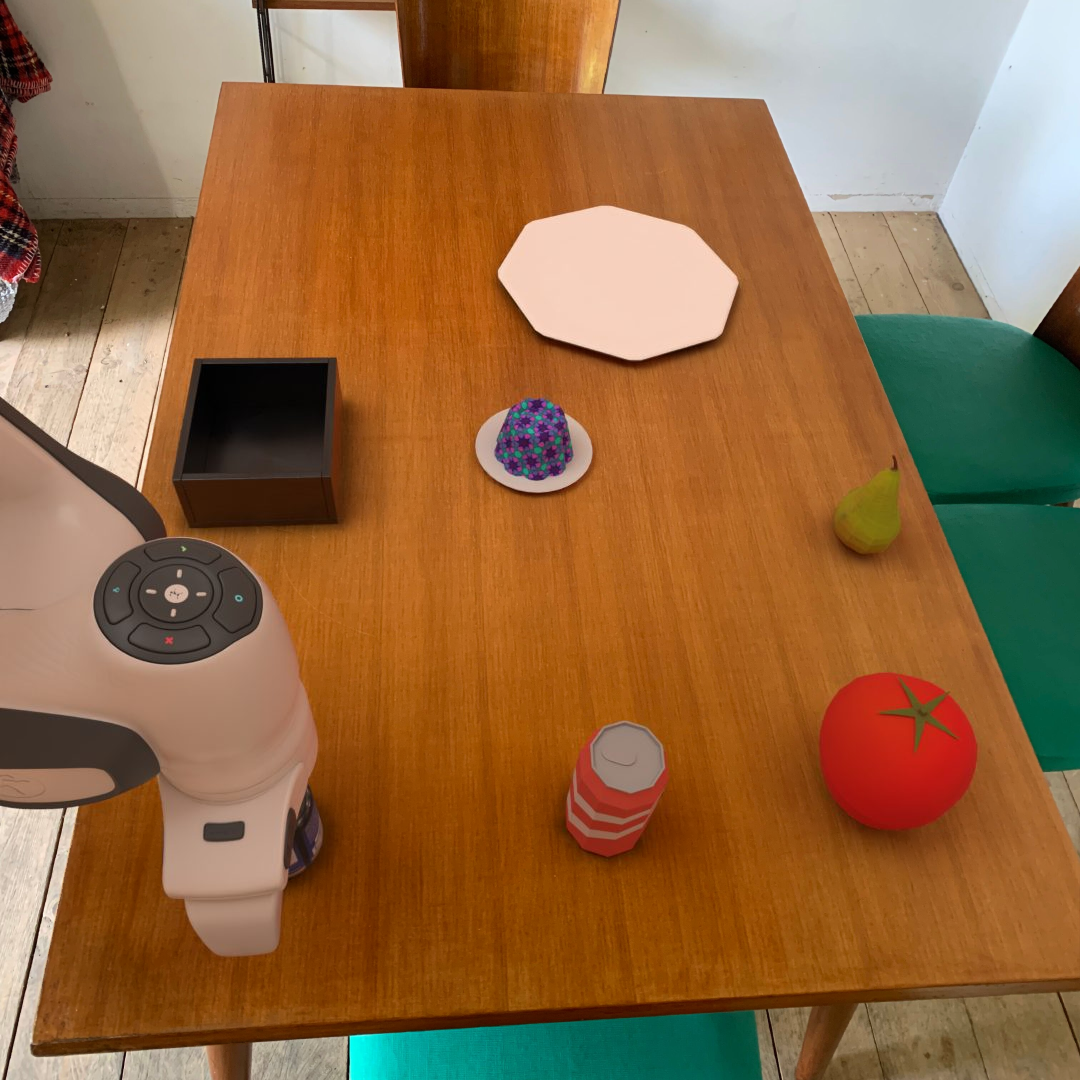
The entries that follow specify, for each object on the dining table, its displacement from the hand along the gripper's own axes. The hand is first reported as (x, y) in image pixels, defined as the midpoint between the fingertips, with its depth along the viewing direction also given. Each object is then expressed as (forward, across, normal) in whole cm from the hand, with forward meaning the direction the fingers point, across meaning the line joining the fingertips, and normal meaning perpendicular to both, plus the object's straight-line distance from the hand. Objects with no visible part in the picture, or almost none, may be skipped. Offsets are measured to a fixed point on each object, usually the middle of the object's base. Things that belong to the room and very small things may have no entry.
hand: (274, 823), depth 65 cm
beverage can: (+4, 0, +24) cm, 25 cm away
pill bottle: (+4, 0, 0) cm, 4 cm away
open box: (+4, -38, -4) cm, 38 cm away
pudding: (+4, -39, +22) cm, 45 cm away
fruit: (+4, -27, +53) cm, 60 cm away
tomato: (+4, -2, +46) cm, 46 cm away
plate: (+4, -66, +35) cm, 75 cm away
